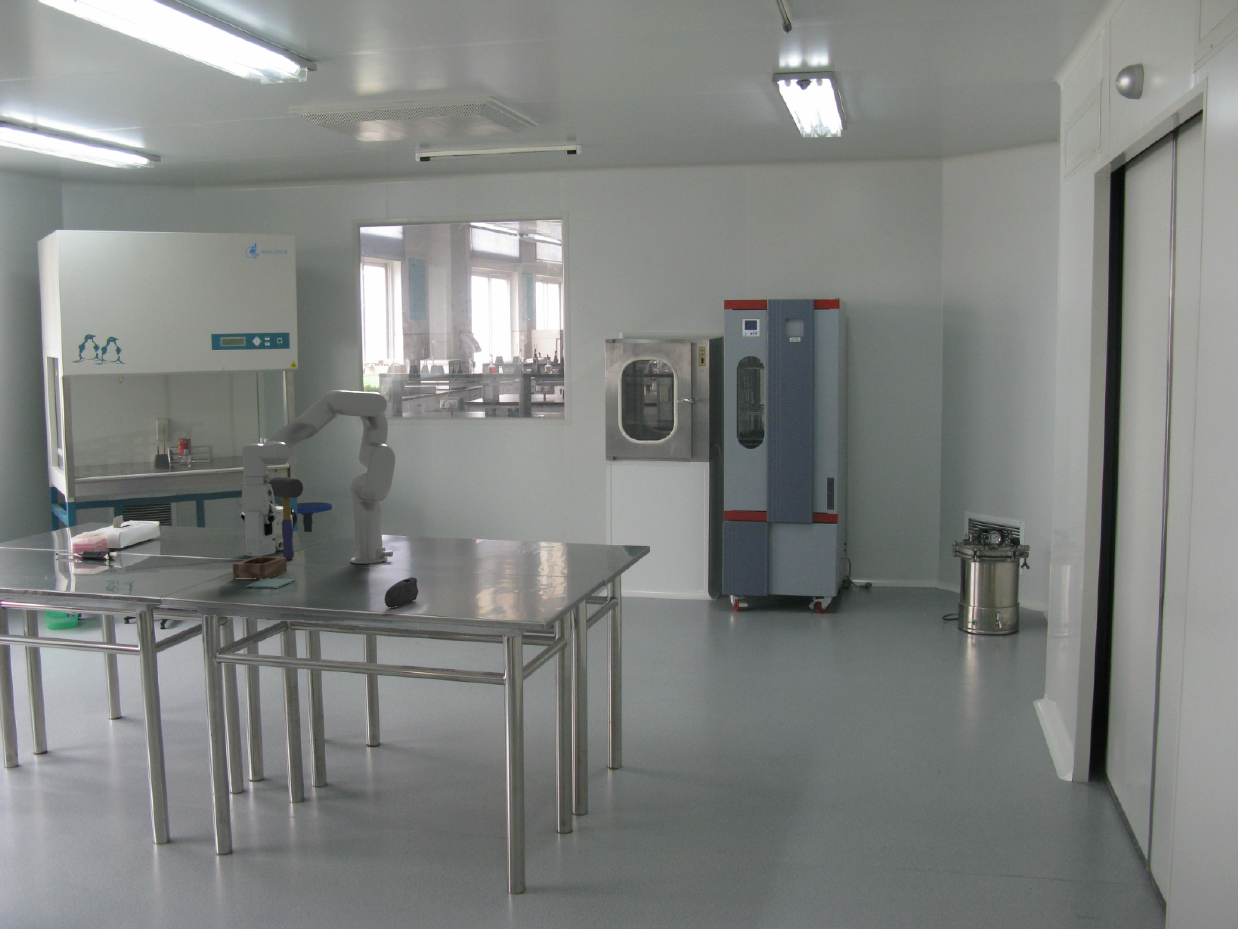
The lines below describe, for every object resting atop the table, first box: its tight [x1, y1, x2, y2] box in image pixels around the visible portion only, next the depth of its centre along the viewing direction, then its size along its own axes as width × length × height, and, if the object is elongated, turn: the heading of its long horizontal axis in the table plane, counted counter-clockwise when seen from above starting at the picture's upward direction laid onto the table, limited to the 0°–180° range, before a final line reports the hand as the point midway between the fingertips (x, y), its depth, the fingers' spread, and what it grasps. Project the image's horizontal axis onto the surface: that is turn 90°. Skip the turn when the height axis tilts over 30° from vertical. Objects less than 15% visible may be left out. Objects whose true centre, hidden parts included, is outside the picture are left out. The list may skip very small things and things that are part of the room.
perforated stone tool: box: [384, 576, 419, 608], centre depth 285 cm, size 15×5×7 cm, turn 157°
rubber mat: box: [245, 578, 296, 588], centre depth 317 cm, size 11×11×1 cm
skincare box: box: [244, 511, 276, 557], centre depth 330 cm, size 8×6×15 cm
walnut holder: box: [232, 556, 288, 579], centre depth 331 cm, size 12×14×5 cm
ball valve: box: [275, 505, 298, 552], centre depth 378 cm, size 18×8×18 cm, turn 147°
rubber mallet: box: [269, 476, 304, 561], centre depth 358 cm, size 12×8×30 cm, turn 55°
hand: (259, 534), depth 330 cm, fingers closed on skincare box, 6 cm apart
